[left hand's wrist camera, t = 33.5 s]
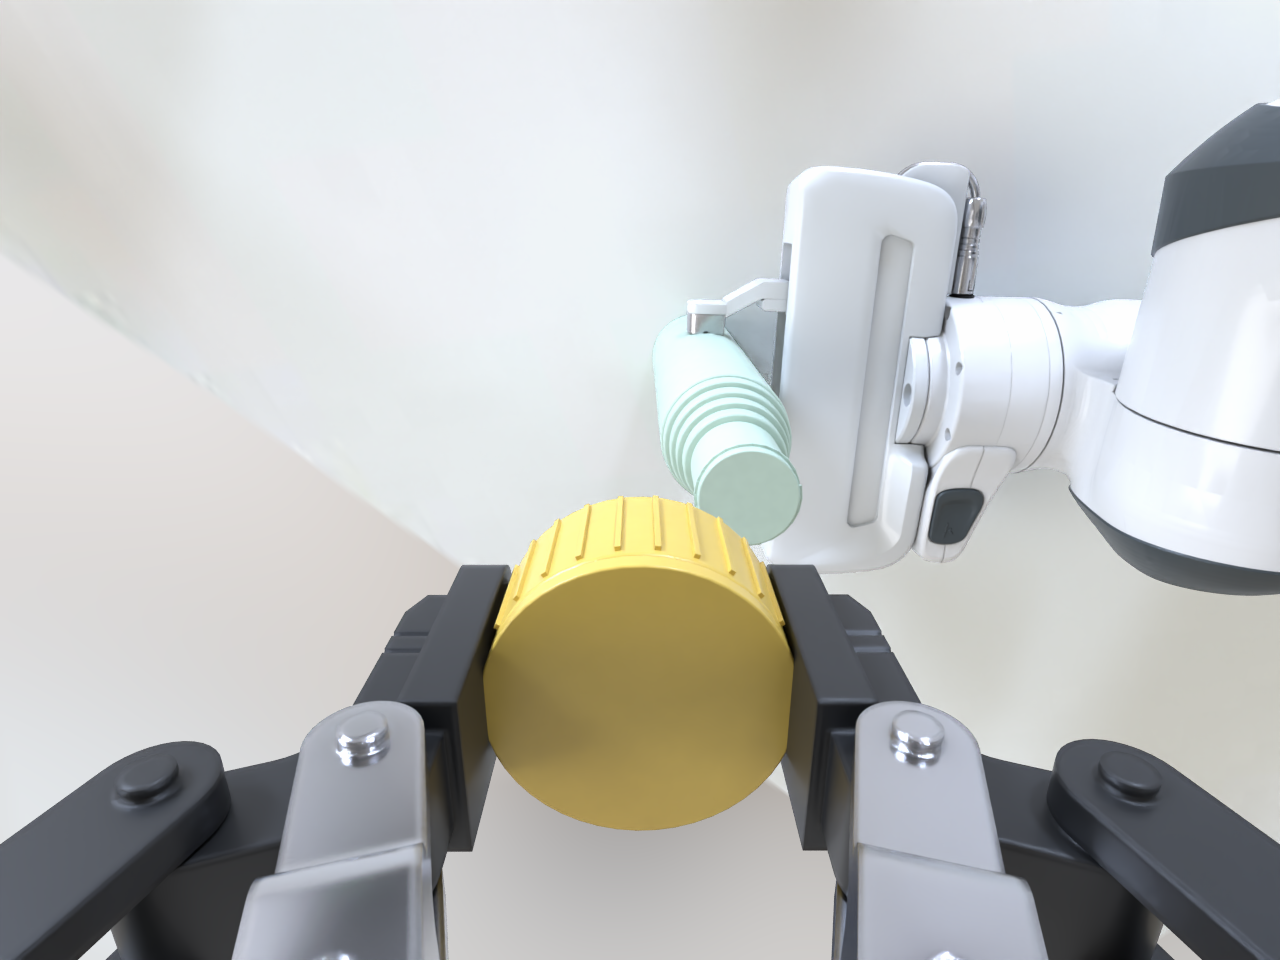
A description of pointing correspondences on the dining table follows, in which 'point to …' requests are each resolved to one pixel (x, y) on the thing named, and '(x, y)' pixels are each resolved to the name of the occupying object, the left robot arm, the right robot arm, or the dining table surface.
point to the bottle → (725, 432)
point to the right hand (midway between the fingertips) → (684, 379)
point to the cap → (639, 667)
